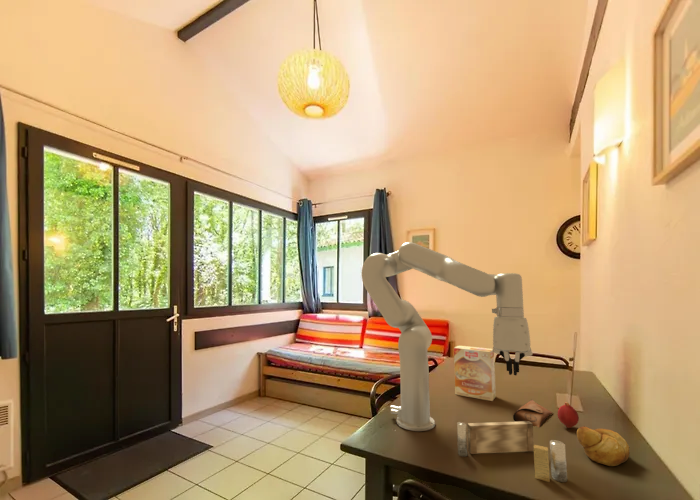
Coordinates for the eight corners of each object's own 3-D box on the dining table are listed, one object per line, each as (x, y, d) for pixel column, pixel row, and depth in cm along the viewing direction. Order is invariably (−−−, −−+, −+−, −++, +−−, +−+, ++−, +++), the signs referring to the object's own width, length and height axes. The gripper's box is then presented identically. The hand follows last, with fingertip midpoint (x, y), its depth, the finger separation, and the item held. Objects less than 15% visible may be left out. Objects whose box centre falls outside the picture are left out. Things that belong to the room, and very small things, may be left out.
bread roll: (602, 446, 96) (600, 417, 97) (643, 462, 88) (640, 430, 89) (574, 455, 91) (572, 424, 92) (614, 473, 82) (611, 439, 83)
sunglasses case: (540, 428, 108) (528, 406, 111) (521, 434, 112) (509, 413, 115) (554, 412, 121) (542, 394, 124) (536, 418, 125) (525, 400, 128)
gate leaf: (471, 453, 91) (470, 425, 92) (468, 450, 93) (467, 423, 94) (534, 451, 92) (532, 423, 93) (530, 447, 94) (528, 421, 95)
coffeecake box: (454, 394, 141) (453, 347, 143) (459, 390, 147) (458, 344, 149) (492, 401, 133) (490, 351, 135) (496, 396, 139) (494, 348, 141)
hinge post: (457, 455, 91) (456, 424, 92) (459, 451, 93) (458, 421, 94) (466, 457, 90) (465, 426, 91) (468, 453, 92) (467, 423, 93)
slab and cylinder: (535, 478, 80) (533, 443, 81) (535, 469, 84) (533, 435, 85) (567, 486, 77) (565, 449, 78) (566, 476, 81) (564, 442, 82)
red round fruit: (559, 422, 113) (558, 398, 114) (580, 427, 109) (578, 401, 110) (557, 428, 108) (555, 402, 109) (578, 433, 105) (576, 406, 105)
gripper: (482, 312, 105) (484, 373, 103) (537, 315, 97) (541, 380, 95) (485, 311, 111) (488, 368, 109) (538, 313, 103) (541, 374, 102)
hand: (513, 373), depth 102 cm, fingers closed
